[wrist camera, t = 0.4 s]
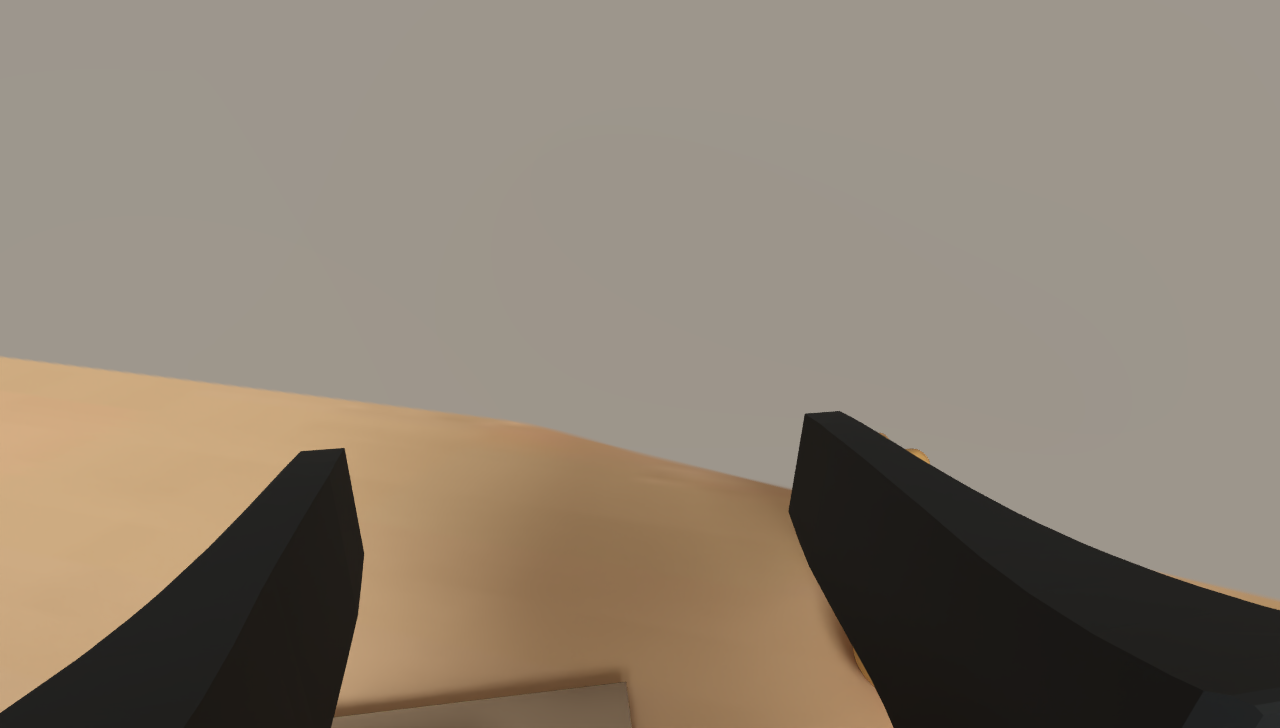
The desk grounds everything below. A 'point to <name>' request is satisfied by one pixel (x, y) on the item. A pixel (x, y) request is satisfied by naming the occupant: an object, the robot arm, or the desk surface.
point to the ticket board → (512, 711)
